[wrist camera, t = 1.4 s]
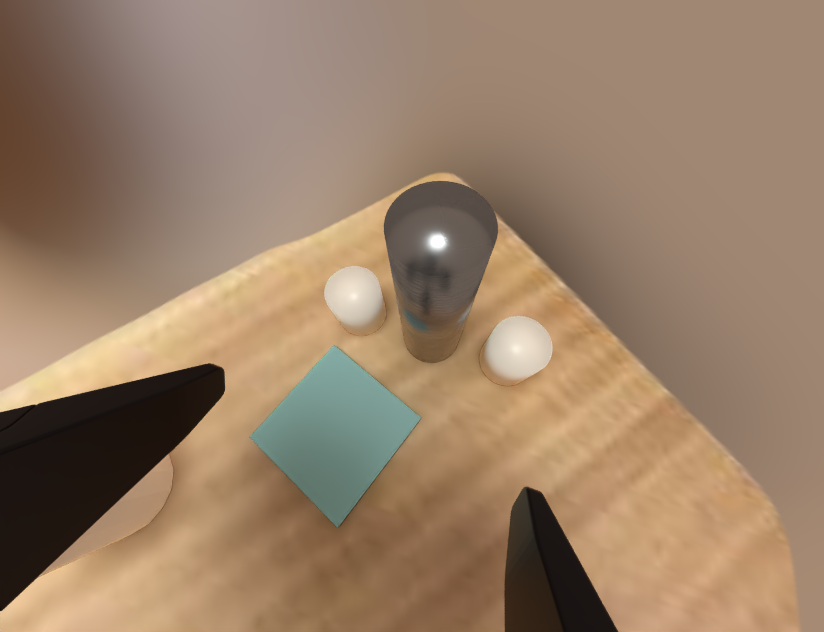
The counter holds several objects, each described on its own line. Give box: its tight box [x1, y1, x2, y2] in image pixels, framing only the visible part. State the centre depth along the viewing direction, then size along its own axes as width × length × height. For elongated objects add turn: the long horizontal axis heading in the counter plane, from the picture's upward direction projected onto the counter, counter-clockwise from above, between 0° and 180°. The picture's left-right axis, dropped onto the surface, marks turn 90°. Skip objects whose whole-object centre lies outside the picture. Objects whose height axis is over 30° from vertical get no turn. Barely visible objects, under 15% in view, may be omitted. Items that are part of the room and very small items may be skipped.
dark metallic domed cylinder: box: [384, 181, 498, 363], centre depth 17 cm, size 4×4×13 cm
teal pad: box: [250, 345, 421, 528], centre depth 21 cm, size 8×8×1 cm
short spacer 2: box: [479, 316, 552, 386], centre depth 21 cm, size 4×4×4 cm
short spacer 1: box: [324, 266, 386, 336], centre depth 22 cm, size 4×4×4 cm
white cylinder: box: [37, 454, 174, 578], centre depth 17 cm, size 7×7×7 cm
